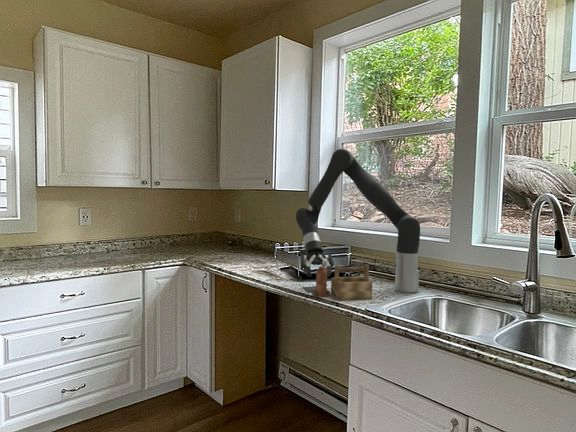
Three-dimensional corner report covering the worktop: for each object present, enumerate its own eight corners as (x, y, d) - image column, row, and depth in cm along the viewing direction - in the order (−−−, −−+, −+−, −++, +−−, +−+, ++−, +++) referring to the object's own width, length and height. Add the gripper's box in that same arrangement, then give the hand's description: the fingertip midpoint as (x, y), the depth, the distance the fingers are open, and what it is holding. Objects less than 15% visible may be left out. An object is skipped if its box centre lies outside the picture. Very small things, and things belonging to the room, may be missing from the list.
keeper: (327, 294, 168) (327, 289, 168) (330, 296, 164) (330, 291, 164) (311, 294, 166) (312, 289, 166) (314, 297, 162) (314, 292, 162)
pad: (319, 287, 179) (319, 286, 179) (325, 291, 172) (325, 290, 172) (302, 287, 178) (302, 286, 178) (307, 292, 170) (307, 291, 170)
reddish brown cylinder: (323, 294, 167) (324, 266, 166) (326, 296, 164) (327, 267, 163) (315, 294, 166) (316, 266, 165) (318, 296, 163) (319, 267, 162)
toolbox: (361, 292, 171) (362, 262, 170) (371, 298, 162) (373, 267, 161) (330, 293, 168) (331, 263, 167) (339, 300, 158) (340, 267, 158)
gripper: (299, 239, 173) (305, 271, 162) (330, 239, 176) (338, 270, 165) (295, 250, 178) (301, 281, 168) (326, 249, 181) (333, 280, 171)
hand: (319, 275), depth 166 cm, fingers open, 8 cm apart
